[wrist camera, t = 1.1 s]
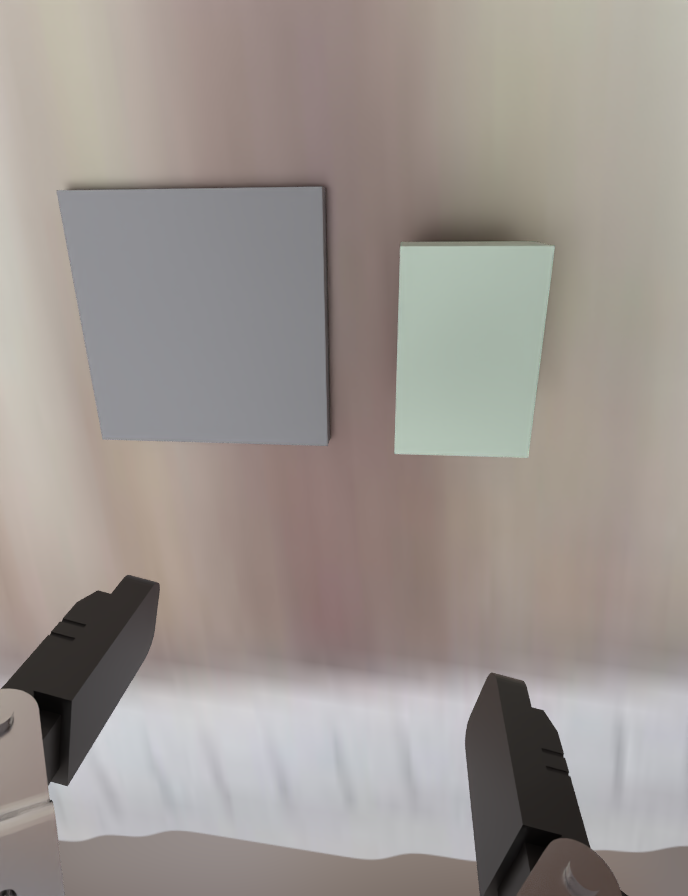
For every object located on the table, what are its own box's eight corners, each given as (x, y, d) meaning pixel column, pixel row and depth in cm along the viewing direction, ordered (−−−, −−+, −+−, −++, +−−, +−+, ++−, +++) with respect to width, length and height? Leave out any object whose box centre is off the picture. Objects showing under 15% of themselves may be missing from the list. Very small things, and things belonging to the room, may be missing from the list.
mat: (324, 187, 29) (321, 186, 28) (330, 438, 35) (327, 445, 34) (69, 191, 31) (56, 190, 29) (111, 432, 36) (102, 439, 35)
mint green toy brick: (516, 237, 29) (554, 245, 22) (500, 403, 33) (528, 457, 25) (401, 238, 30) (400, 246, 22) (396, 400, 33) (394, 453, 26)
